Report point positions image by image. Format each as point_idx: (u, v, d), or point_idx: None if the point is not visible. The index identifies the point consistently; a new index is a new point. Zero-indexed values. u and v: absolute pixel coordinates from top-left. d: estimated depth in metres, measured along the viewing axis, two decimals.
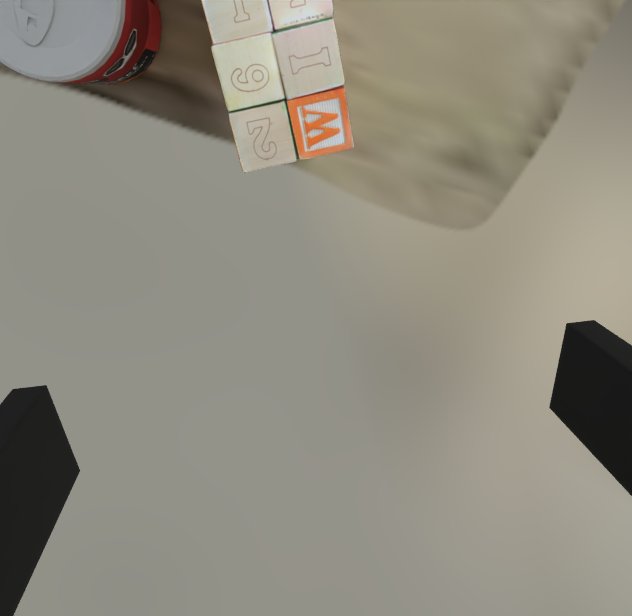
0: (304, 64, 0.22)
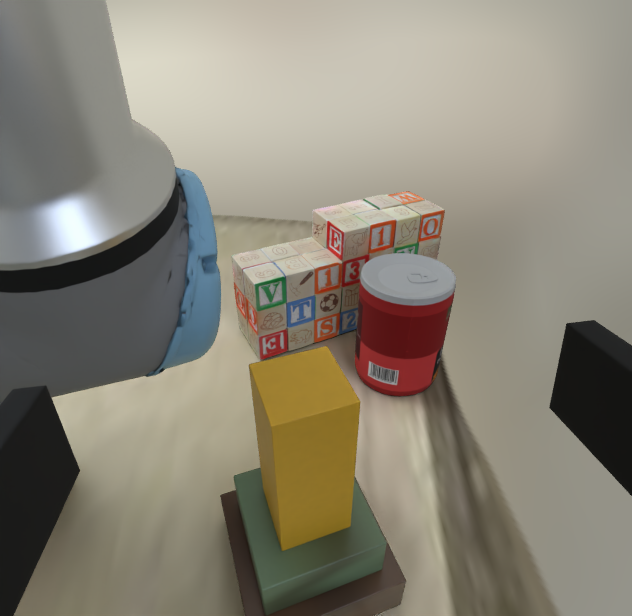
0: (385, 201, 0.48)
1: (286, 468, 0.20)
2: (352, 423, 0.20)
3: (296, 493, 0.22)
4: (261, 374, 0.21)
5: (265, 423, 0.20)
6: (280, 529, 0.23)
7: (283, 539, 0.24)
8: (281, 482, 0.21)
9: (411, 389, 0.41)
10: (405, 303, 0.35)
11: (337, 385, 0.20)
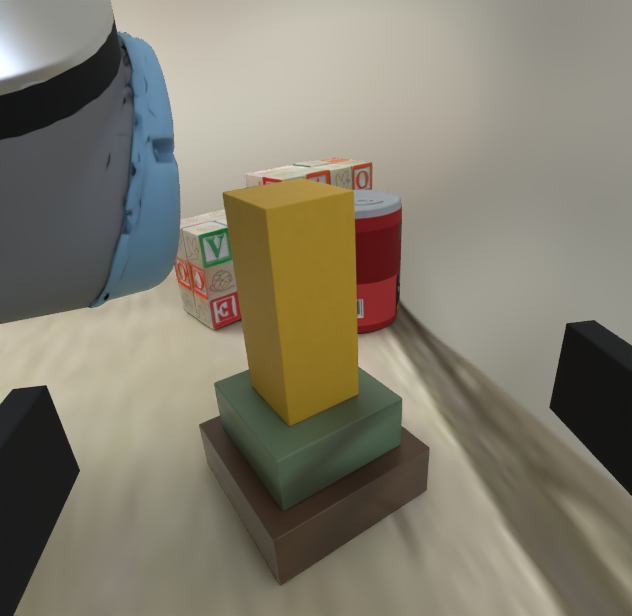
0: (314, 162, 0.48)
1: (285, 283, 0.18)
2: (348, 222, 0.18)
3: (298, 327, 0.19)
4: (238, 193, 0.19)
5: (254, 230, 0.17)
6: (285, 388, 0.20)
7: (289, 406, 0.20)
8: (281, 306, 0.18)
9: (378, 321, 0.39)
10: (358, 216, 0.35)
11: (325, 188, 0.19)
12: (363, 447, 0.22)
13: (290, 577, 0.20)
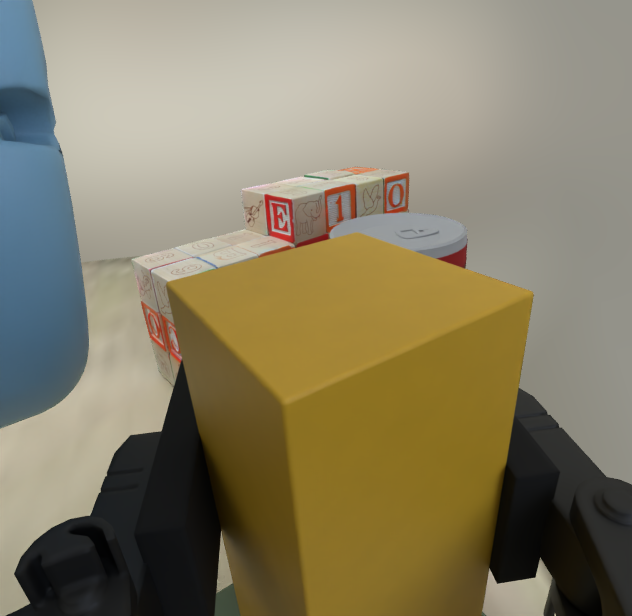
0: (333, 173, 0.37)
1: (339, 574, 0.06)
2: (508, 375, 0.07)
3: None
4: (205, 292, 0.07)
5: (246, 425, 0.06)
6: None
7: None
8: None
9: None
10: None
11: (438, 276, 0.07)
12: None
13: None
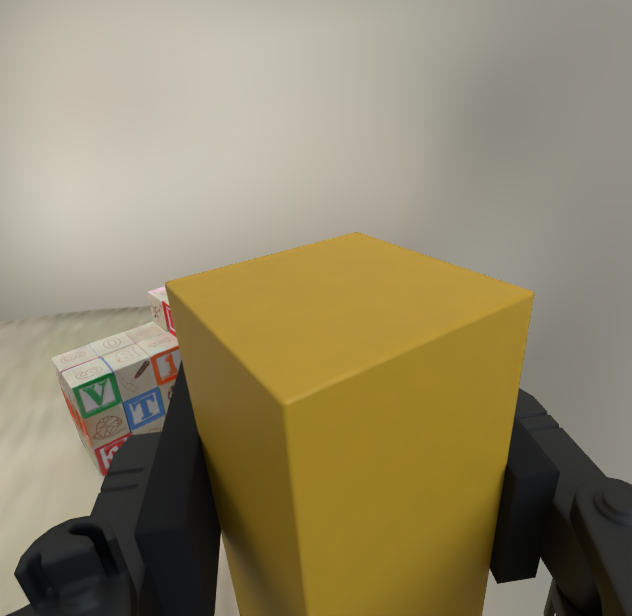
0: None
1: (339, 575, 0.06)
2: (509, 375, 0.07)
3: None
4: (204, 292, 0.07)
5: (246, 425, 0.06)
6: None
7: None
8: None
9: None
10: None
11: (439, 275, 0.07)
12: None
13: None
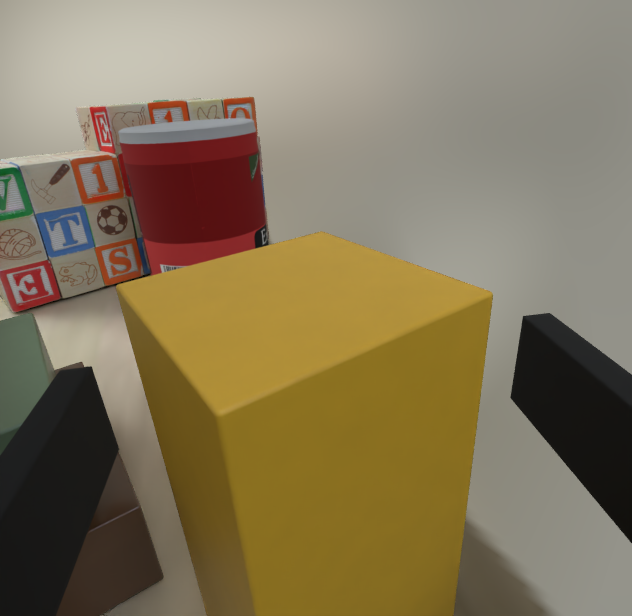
0: None
1: (293, 589, 0.06)
2: (469, 378, 0.06)
3: None
4: (155, 294, 0.07)
5: (191, 435, 0.05)
6: None
7: None
8: None
9: None
10: (174, 139, 0.24)
11: (398, 276, 0.07)
12: None
13: None
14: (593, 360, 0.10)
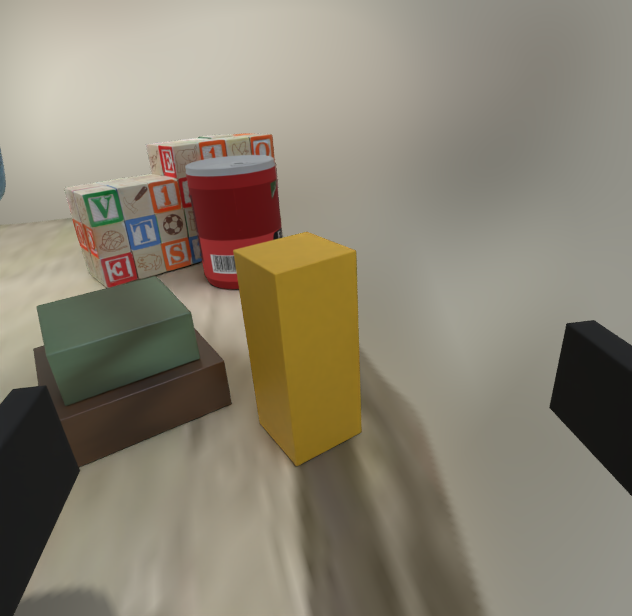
0: (218, 135, 0.51)
1: (293, 338, 0.19)
2: (351, 279, 0.20)
3: (305, 376, 0.20)
4: (248, 252, 0.20)
5: (264, 289, 0.19)
6: (292, 431, 0.21)
7: (296, 447, 0.21)
8: (289, 358, 0.19)
9: None
10: (223, 174, 0.37)
11: (329, 246, 0.20)
12: (152, 355, 0.24)
13: None
14: None
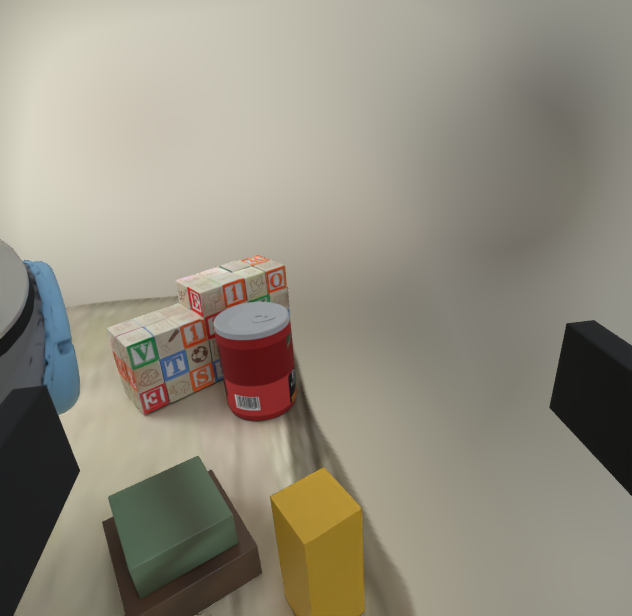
0: (237, 265, 0.58)
1: (316, 575, 0.26)
2: (357, 525, 0.27)
3: (323, 593, 0.27)
4: (282, 503, 0.27)
5: (295, 542, 0.26)
6: None
7: None
8: (312, 587, 0.26)
9: (274, 411, 0.49)
10: (248, 338, 0.44)
11: (341, 499, 0.27)
12: (203, 550, 0.31)
13: None
14: None
